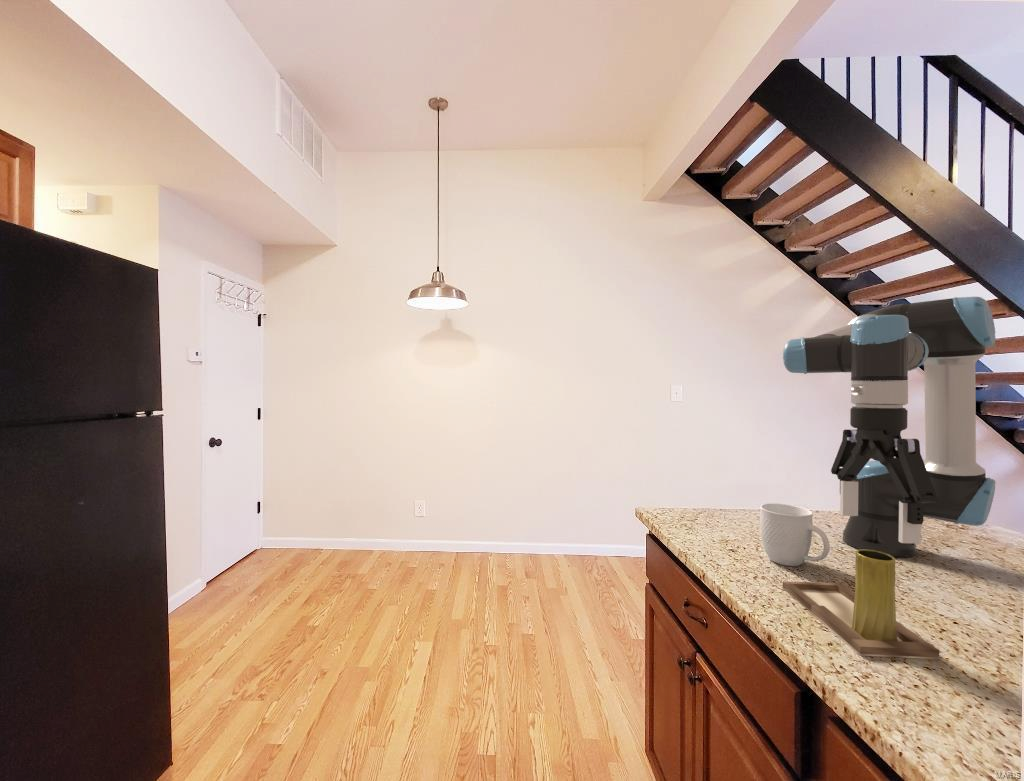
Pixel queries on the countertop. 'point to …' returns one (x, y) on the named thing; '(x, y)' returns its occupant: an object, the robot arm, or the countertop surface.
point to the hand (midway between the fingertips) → (876, 527)
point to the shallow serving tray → (837, 614)
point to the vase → (874, 596)
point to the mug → (789, 534)
